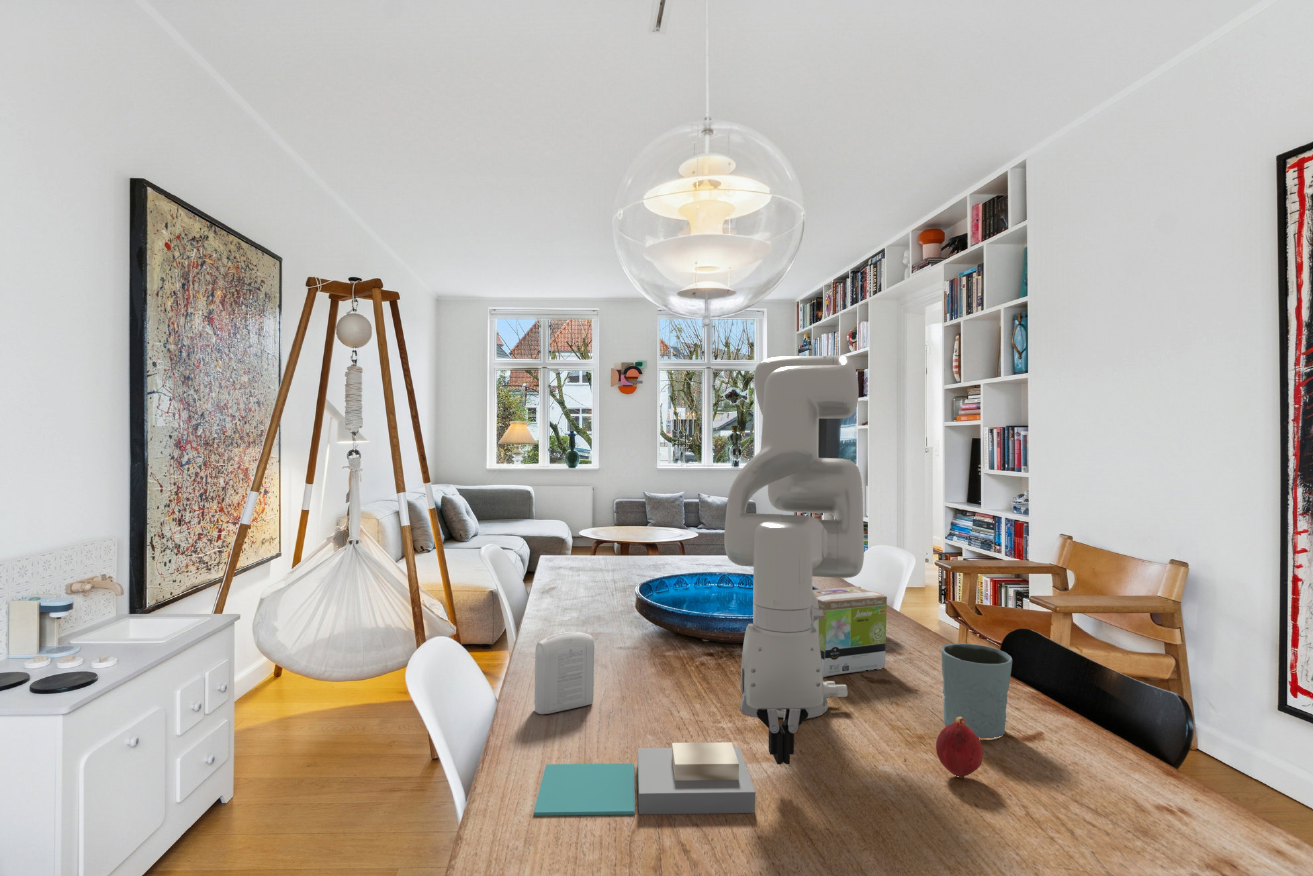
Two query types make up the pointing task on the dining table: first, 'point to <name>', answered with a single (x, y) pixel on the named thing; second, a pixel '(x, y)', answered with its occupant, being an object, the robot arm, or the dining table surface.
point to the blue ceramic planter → (976, 687)
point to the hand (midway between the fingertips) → (781, 759)
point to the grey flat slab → (689, 788)
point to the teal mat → (586, 790)
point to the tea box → (851, 630)
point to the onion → (959, 748)
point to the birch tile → (705, 761)
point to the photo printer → (564, 672)
